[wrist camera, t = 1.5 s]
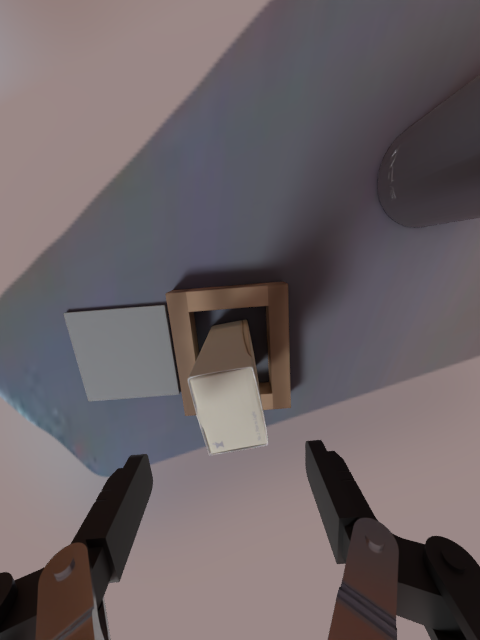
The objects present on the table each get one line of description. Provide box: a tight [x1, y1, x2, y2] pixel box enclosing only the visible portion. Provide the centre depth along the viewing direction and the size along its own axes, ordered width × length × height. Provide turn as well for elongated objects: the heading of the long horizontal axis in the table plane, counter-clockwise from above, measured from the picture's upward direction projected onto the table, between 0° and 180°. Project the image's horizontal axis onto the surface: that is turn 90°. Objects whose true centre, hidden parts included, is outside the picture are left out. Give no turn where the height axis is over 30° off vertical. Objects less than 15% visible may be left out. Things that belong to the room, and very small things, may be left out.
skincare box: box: [188, 320, 268, 455], centre depth 21 cm, size 6×4×12 cm
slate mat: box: [63, 305, 180, 401], centre depth 26 cm, size 11×11×1 cm
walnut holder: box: [166, 282, 291, 416], centre depth 25 cm, size 12×14×2 cm
